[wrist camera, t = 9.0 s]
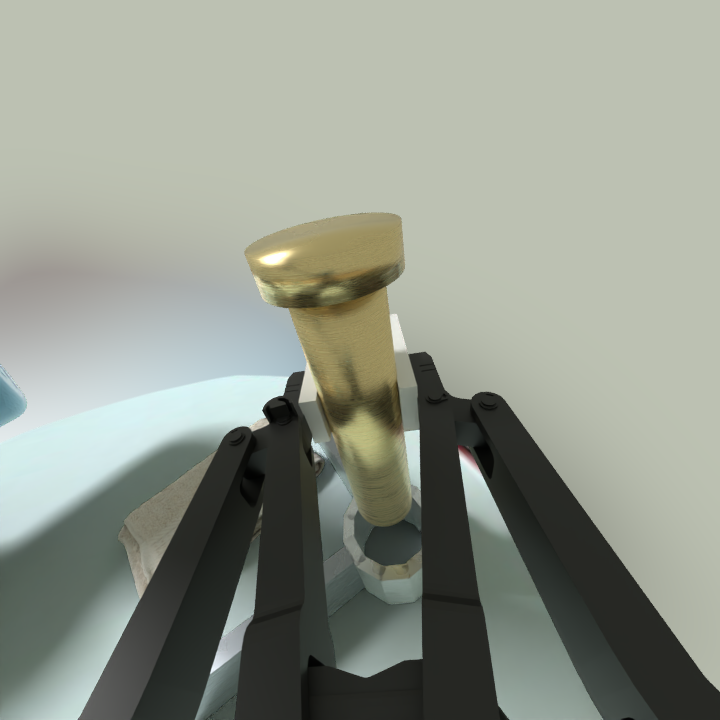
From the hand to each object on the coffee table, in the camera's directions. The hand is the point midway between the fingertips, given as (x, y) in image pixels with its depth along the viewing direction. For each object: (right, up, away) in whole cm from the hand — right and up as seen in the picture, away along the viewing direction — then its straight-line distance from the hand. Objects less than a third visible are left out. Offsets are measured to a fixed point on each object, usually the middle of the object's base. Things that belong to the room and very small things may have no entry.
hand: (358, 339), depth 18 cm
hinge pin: (+2, -10, +1) cm, 10 cm away
